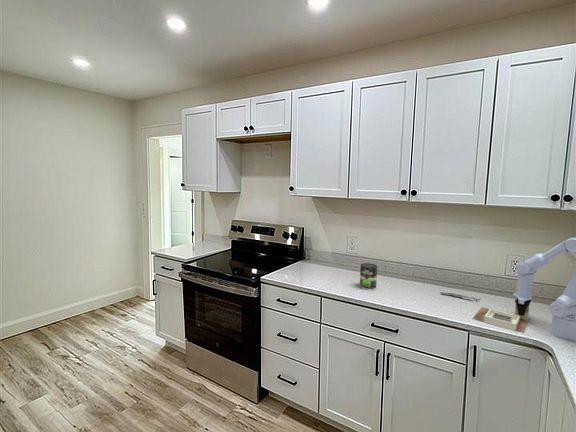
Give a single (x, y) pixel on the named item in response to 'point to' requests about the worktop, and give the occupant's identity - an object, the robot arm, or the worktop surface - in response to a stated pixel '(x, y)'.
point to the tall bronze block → (521, 315)
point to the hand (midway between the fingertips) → (521, 314)
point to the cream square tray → (502, 319)
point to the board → (480, 317)
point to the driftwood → (459, 296)
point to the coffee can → (368, 276)
